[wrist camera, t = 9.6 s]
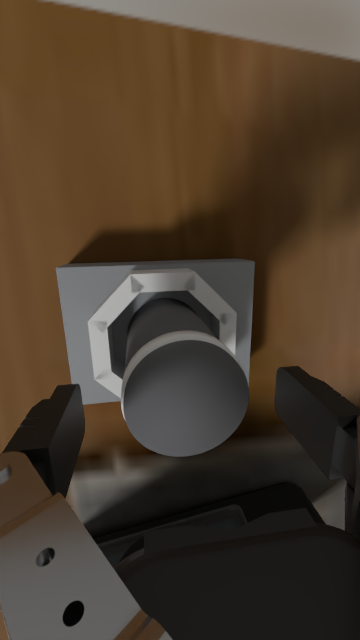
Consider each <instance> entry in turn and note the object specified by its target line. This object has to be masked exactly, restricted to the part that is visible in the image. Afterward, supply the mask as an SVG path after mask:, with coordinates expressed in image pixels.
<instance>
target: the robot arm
mask: <svg viewBox="0 0 360 640" xmlns="http://www.w3.org/2000/svg"><path fill="white" fill-rule="evenodd" d="M275 409H276V412H277V414H278V416H279V417H280V419H281V420H282V421H283V423H284V424H285V425H286V426H287V428H288V429H289V430H290V431H291V433H292V434H293V435H294V436H295V438H296V439H297V440H298V442H299V443H300V444H301V445H302V447H303V448H304V449H305V450H306V452H307V453H308V454H309V455H310V457H311V458H312V459H313V461H314V462H315V463H316V464H317V466H318V467H319V468H320V469H321V471H322V472H323V473H324V474H325V476H326V477H327V478H328V480H331V479H338V478H345V480H346V481H347V482H346V488H345V531H344V530H342V529H339V528H336V527H333V526H330V525H325V524H321V523H315V522H314V520H313V519H312V517H311V515H310V514H309V512H308V511H307V509H306V508H301V509H294V510H287V511H281V512H274V513H268V514H266V515H263V516H261V517H259V518H257V519H255V520H253V521H251V522H248V523H246V524H244V525H242V526H240V527H238V528H235V529H233V530H222V529H213V528H204V527H194V526H180V527H173V528H166V529H159V530H153V531H146V532H144V548H143V549H140V550H138V551H136V552H134V553H133V554H131V555H129V556H128V557H126V558H125V559H123V560H122V561H121V562H120V563H118V564H117V565H116V566H115V567H114V568H113V567H112V566H111V564H110V563H109V561H108V560H107V559H106V557H105V556H104V554H103V553H102V551H101V550H100V548H99V547H98V546H97V544H96V543H95V541H94V540H93V538H92V537H91V535H90V534H89V533H88V531H87V530H86V528H85V527H84V525H83V524H82V522H81V521H80V520H79V518H78V517H77V515H76V514H75V512H74V511H73V509H72V508H71V507H70V505H69V504H68V502H67V501H66V499H65V498H66V495H67V492H68V488H69V485H70V481H71V478H72V475H73V471H74V468H75V464H76V461H77V458H78V454H79V451H80V447H81V444H82V441H83V437H84V432H85V418H84V410H83V403H82V395H81V388H80V385H79V384H67V385H58V386H57V387H56V389H55V391H54V392H53V394H52V396H51V398H50V399H44V400H42V401H40V402H39V403H38V404H36V405H35V406H34V407H32V408H31V410H30V411H29V413H28V414H27V416H26V417H25V419H24V420H23V422H22V423H21V425H20V427H19V428H18V429H17V431H16V433H15V434H14V436H13V437H12V439H11V440H10V442H9V443H8V445H7V446H6V448H5V449H4V451H3V452H2V453H1V454H0V610H1V614H2V617H3V620H4V624H5V627H6V630H7V634H8V637H9V640H360V409H359V408H358V407H356V406H355V405H354V404H353V403H351V402H350V401H349V400H347V399H346V398H345V397H343V396H341V394H339V393H338V392H337V391H335V390H334V389H333V388H332V387H330V386H329V385H328V384H326V383H325V382H323V381H321V380H319V379H316V378H314V377H311V376H310V375H309V374H308V373H306V372H305V371H304V370H303V369H301V368H300V367H299V366H291V367H280V368H278V370H277V376H276V389H275Z"/></svg>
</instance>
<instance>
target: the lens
mask: <svg viewBox="0 0 360 640" xmlns="http://www.w3.org/2000/svg"><path fill="white" fill-rule="evenodd" d="M248 401H249V387H248V382H247V379H246V375H245V372H244V369H243V367H242V365H241V363H240V362H239V360H238V359H237V357H236V356H235V355H234V354H233V353H232V352H231V351H230V349H229V348H228V347H227V346H226V345H225V344H224V343H222V342H221V341H220V340H218V339H217V338H216V336H215V335H214V334H213V333H212V332H211V330H210V329H209V328H208V327H207V326H206V325H205V323H204V322H203V321H202V320H201V319H200V317H199V316H198V315H197V314H196V313H195V311H194V310H193V309H192V308H191V307H190V306H188V305H187V304H186V303H184V302H182V301H180V300H177V299H173V298H159V299H155V300H152V301H149V302H147V303H146V304H144V305H143V306H141V307H140V308H139V309H138V310H137V311H136V312H135V314H134V315H133V317H132V318H131V320H130V323H129V326H128V332H127V349H126V366H125V373H124V376H123V381H122V390H121V407H122V413H123V416H124V419H125V421H126V424H127V426H128V428H129V430H130V432H131V433H132V435H133V436H134V437H135V438H136V439H137V440H138V441H139V442H140V443H141V444H142V445H144V446H145V447H146V448H148V449H150V450H152V451H154V452H157V453H159V454H163V455H167V456H177V457H183V456H192V455H197V454H200V453H203V452H206V451H208V450H211V449H213V448H214V447H216V446H218V445H219V444H221V443H222V442H224V441H225V440H226V439H227V438H229V437H230V436H231V435H232V434H233V432H234V431H235V430H236V429H237V427H238V426H239V425H240V423H241V421H242V420H243V418H244V415H245V413H246V410H247V406H248Z"/></svg>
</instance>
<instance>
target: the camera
mask: <svg viewBox="0 0 360 640" xmlns="http://www.w3.org/2000/svg"><path fill="white" fill-rule="evenodd" d="M301 508H306V509H307V511H308V512H309V514H310V515H311V517H312V519H313V520H314V522H315V523H321V524H325V522H324V521H323V519H322V518H321V516H320V515H319V514H318V512H317V511H316V509H315V508H314V506H313V505H312V503H311V502H310V500H309V499H308V497H307V496H306V494H305V493H304V492H303V490H302V489H301V488H300V487H298V486H297V485H295V484H292V483H283V484H279V485H276V486H273V487H269V488H266V489H262V490H259V491H255V492H252V493H249V494H245V495H242V496H238V497H235V498H231V499H228V500H225V501H221V502H218V503H214V504H211V505H207V506H204V507H200V508H197V509H194V510H190V511H187V512H183V513H180V514H176V515H173V516H170V517H166V518H163V519H159V520H156V521H152V522H149V523H145V524H142V525H139V526H135V527H132V528H128V529H125V530H121V531H118V532H115V533H111V534H108V535H104V536H101V537H97V538H94V539H93V540H94V541H95V543H96V544H97V546H98V547H99V548H100V550H101V551H102V553H103V554H104V556H105V557H106V559H107V560H108V561H109V563H110V564H111V566H112V567H113V568H114V567H115V566H116V565H117V564H118V563H120V562H121V561H122V560H123V559H125V558H126V557H128V556H129V555H131V554H133V553H134V552H136V551H138V550H140V549H143V548H144V532H146V531H153V530H159V529H166V528H173V527H180V526H194V527H204V528H213V529H222V530H233V529H235V528H238V527H240V526H242V525H244V524H246V523H248V522H251V521H253V520H255V519H257V518H259V517H261V516H263V515H266V514H268V513H274V512H281V511H287V510H294V509H301ZM325 525H326V524H325Z"/></svg>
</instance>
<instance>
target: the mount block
mask: <svg viewBox="0 0 360 640" xmlns="http://www.w3.org/2000/svg"><path fill="white" fill-rule="evenodd" d="M254 270H255V261H251V260H245V259H239V258H234V259H202V260H170V261H138V262H106V263H74V264H66V265H63V266H60V267H57V268H56V273H57V280H58V287H59V295H60V302H61V309H62V316H63V323H64V330H65V337H66V344H67V351H68V359H69V366H70V373H71V380H72V384H79V385H80V388H81V395H82V403H83V405H84V404H94V403H104V402H115V401H121V390H122V381H123V376H124V373H125V366H126V349H127V332H128V326H129V323H130V320H131V318H132V317H133V315H134V314H135V312H136V311H137V310H138V309H139V308H140V307H141V306H143V305H144V304H146V303H147V302H149V301H152V300H155V299H159V298H173V299H177V300H180V301H182V302H184V303H186V304H187V305H188V306H190V307H191V308H192V309H193V310H194V311H195V313H196V314H197V315H198V316H199V317H200V319H201V320H202V321H203V322H204V323H205V325H206V326H207V327H208V328H209V329H210V330H211V332H212V333H213V334H214V335H215V336H216V338H217V339H218V340H220V341H221V342H222V343H224V344H225V345H226V346H227V347H228V348H229V349H230V351H231V352H232V353H233V354H234V355H235V356H236V357H237V359H238V360H239V362H240V363H241V365H242V367H243V369H244V372H245V375H246V379H247V382H248V385H249V366H250V347H251V328H252V309H253V290H254Z"/></svg>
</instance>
